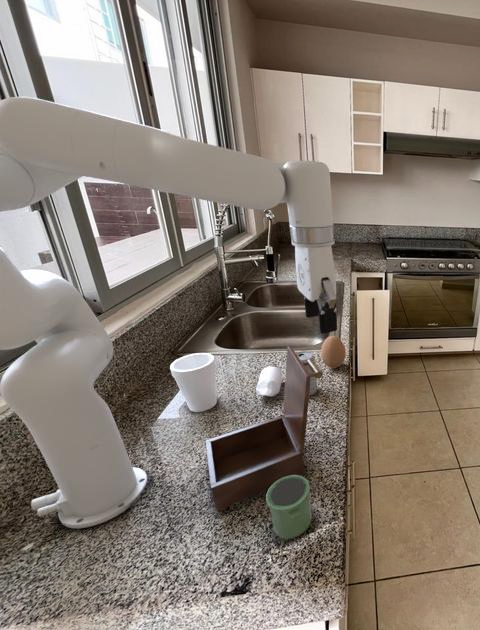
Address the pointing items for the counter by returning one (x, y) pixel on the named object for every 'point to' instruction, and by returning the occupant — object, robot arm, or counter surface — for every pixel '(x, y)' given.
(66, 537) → the counter surface
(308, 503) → the pot
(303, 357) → the energy drink
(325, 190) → the robot arm
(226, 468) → the chest
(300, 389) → the lid
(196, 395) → the foam cup
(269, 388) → the roll
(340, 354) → the egg
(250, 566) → the counter surface
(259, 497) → the counter surface
